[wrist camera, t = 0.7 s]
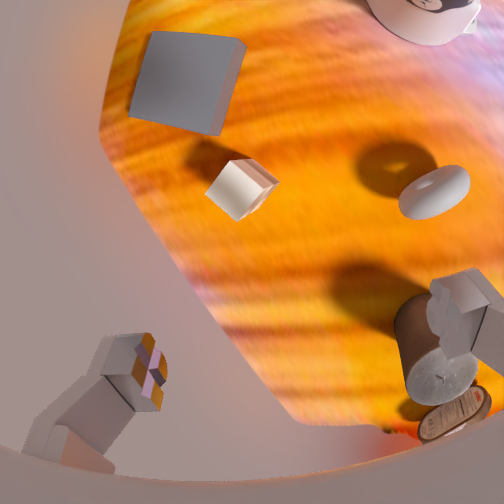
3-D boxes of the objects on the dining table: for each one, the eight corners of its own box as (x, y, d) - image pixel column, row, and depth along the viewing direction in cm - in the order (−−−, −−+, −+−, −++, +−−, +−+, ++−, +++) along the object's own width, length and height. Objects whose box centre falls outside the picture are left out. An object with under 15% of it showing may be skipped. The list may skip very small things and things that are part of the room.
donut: (400, 215, 39) (414, 233, 30) (388, 193, 39) (400, 204, 29) (458, 181, 35) (487, 190, 26) (447, 158, 35) (475, 161, 25)
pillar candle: (382, 335, 45) (390, 402, 31) (414, 282, 41) (439, 339, 27) (430, 354, 43) (448, 420, 30) (463, 306, 39) (496, 364, 26)
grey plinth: (166, 37, 40) (152, 31, 36) (247, 47, 38) (237, 38, 34) (143, 117, 45) (127, 116, 42) (219, 136, 43) (208, 135, 39)
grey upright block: (252, 158, 43) (229, 160, 34) (280, 181, 42) (263, 189, 34) (231, 185, 45) (205, 193, 36) (257, 208, 45) (236, 221, 36)
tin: (420, 425, 47) (424, 457, 40) (413, 417, 47) (416, 450, 40) (485, 383, 41) (497, 413, 34) (479, 374, 41) (492, 405, 34)
